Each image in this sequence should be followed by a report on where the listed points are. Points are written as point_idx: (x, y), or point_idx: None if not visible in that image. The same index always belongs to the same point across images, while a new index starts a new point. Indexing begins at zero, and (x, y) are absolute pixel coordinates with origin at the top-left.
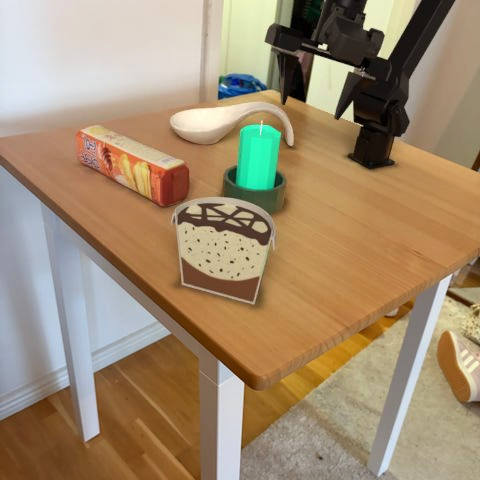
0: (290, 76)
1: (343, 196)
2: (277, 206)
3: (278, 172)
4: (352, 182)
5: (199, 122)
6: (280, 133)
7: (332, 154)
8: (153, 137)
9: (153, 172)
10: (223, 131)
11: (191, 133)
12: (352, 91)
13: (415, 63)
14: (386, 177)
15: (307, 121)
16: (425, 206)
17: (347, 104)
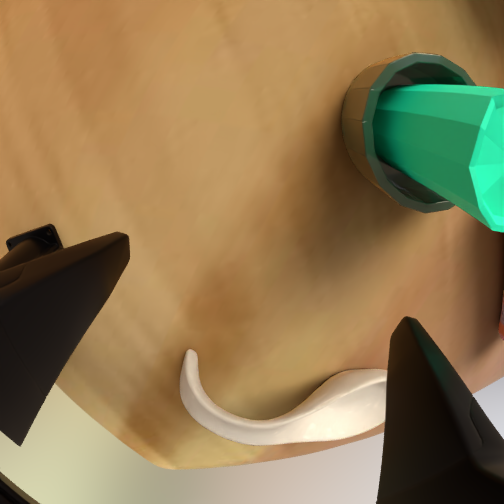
0: (466, 423)
1: (168, 92)
2: (385, 59)
3: (371, 137)
4: (110, 165)
5: (338, 417)
6: (483, 123)
7: (110, 306)
8: None
9: None
10: (344, 382)
11: None
12: (3, 296)
13: None
14: (33, 183)
15: (127, 412)
16: (22, 48)
17: (55, 257)
